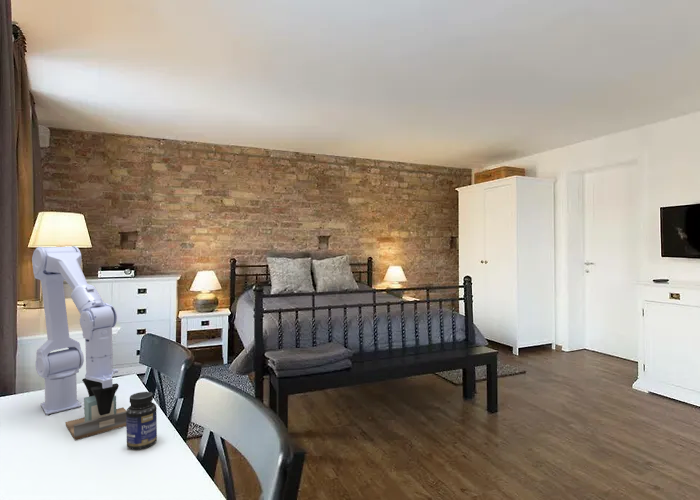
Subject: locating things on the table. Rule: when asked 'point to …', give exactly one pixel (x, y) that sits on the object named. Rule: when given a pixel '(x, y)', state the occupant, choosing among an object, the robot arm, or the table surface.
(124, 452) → the table surface
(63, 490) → the table surface
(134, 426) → the pill bottle
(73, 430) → the shelf board
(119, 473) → the table surface
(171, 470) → the table surface
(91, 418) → the carton
